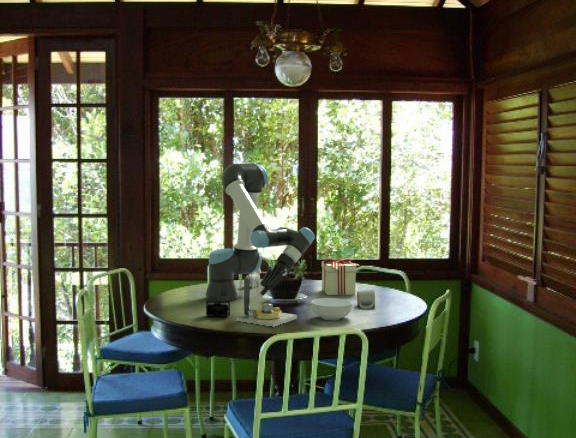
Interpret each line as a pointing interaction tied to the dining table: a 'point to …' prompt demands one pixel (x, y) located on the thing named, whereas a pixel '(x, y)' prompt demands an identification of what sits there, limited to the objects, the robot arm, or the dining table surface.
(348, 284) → the gift box
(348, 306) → the cereal bowl
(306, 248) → the robot arm
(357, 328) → the dining table surface
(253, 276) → the dog figurine
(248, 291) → the gold and grey piece
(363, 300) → the ceramic mug
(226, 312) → the end cap
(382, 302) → the dining table surface
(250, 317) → the housing
